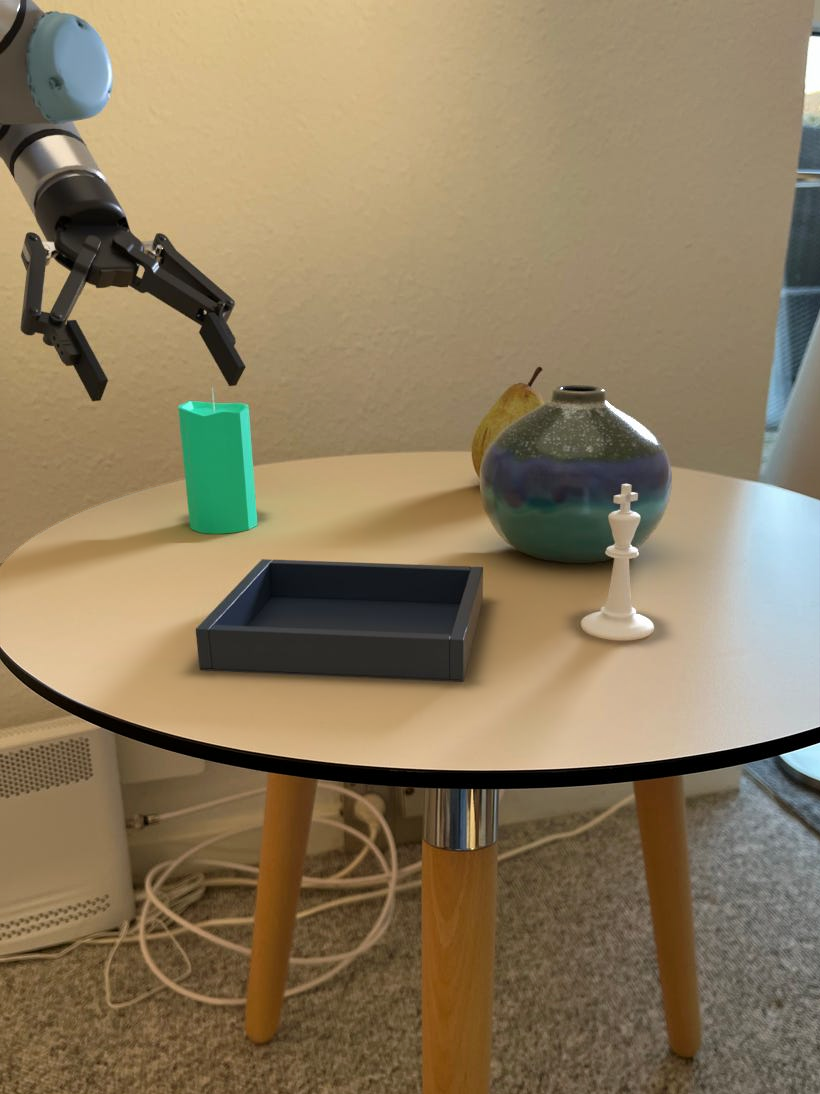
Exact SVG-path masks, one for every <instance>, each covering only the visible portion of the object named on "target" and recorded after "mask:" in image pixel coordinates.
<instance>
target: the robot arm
mask: <svg viewBox="0 0 820 1094" xmlns="http://www.w3.org/2000/svg"><path fill="white" fill-rule="evenodd" d="M113 82H114V73H113V65H112V61H111V57H110V53H109V51H108V49H107V47H106V45H105V43H104V40H103V39H102V37H101V36H100V34H99V32H98V31H97V30H96V29H95V28H94V27H93V25H92V24H90V23H89V22H88V21H86V20H85V19H83V18H81V17H79V16H78V15H75V14H73V13H67V12H59V11H57V10H54V11H52V10H51V11H46V12H44V11H43V10H42V9H41V8H40V7H39V6H38V5H37V4H36V2H35V1H34V0H0V158H1V160H3V162H4V164H5V165H6V167H7V169H8V171H9V172H10V175H11V176H12V178H13V180H14V182H15V183H16V185H17V187H18V189H19V190H20V192H21V194H22V196H23V198H24V200H25V202H26V204H27V205H28V207H29V210H30V211H31V213H32V214H33V217H34V218H35V221H36V223H37V225H38V227H39V229H40V230H41V232H42V234H43V236H44V238H45V240H42V239H41V237H40V235H38V233H36V232H32V231H31V232H30V231H29V232H27V233H26V234H25V237H24V242H23V245H22V249H21V253H20V257H21V260H22V263H23V265H24V267H25V271H26V275H25V283H24V294H23V302H22V311H21V319H20V332H21V333H23V334H24V335H25V336H34V335H35V334H39V335H40V334H41V335H43V336H42V342H43V343H44V345H46V346H49V347H54V349H55V351H56V352H57V355H58V357H59V358H60V359H59V360H60V361H61V363H63V365H65V366H66V367H72V366H73V368H74V370H75V372H76V373H77V375H78V378H79V379H80V381H81V383H82V385H83V387H84V389H85V391H86V392H87V394H88V396H89V398H90V400H91V401H92V402H100V401H102V398H103V395H104V392H105V390H106V386H107V385H108V382H109V379H108V377H107V375H106V373H105V371H104V370H103V368H102V365H101V364H100V362H99V359H98V358H97V357H96V355H95V353H94V351H93V350H92V347H91V345H90V343H89V341H88V340H87V338H86V336H85V334H84V332H83V330H82V328H81V327H80V325H79V323H78V321H77V319H69V317H70V316H71V314H72V312H73V309H74V308H75V305H76V303H77V301H78V299H79V297H80V296H81V294H82V292H83V290H84V288H85V287H86V284H89V285H92V286H95V289H106V288H109V287H115V288H129V287H131V288H132V289H134V290H135V291H137V292H138V293H141V294H145V293H148V294H149V295H151V296H153V297H154V298H156V299H157V300H159V301H160V302H163V303H164V304H166V305H167V306H169V307H170V308H172V309H174V310H175V311H177V312H178V313H180V314H182V315H183V316H185V317H186V318H188V319H190V320H191V321H193V322H194V323H196V324H198V325H199V326H201V327H200V329H199V331H198V334H199V335H200V337H201V339H202V340H203V342H204V344H205V346H206V348H207V349H208V351H209V353H210V354H211V357H212V358H213V360H214V362H215V363H216V366H217V368H218V369H219V371H220V373H221V374H222V376H223V378H224V379H225V382H226V383H227V385H228V387H234V386H237V384H238V382H239V381H240V379H241V378H242V375H243V373H244V371H245V370H246V365H245V363H244V361H243V360H242V357H241V356H240V354H239V352H238V350H237V348H236V347H235V345H236V344H237V339H236V337H235V335H234V333H233V331H232V330H231V328H230V326H229V324H228V323H227V322H228V321H229V318H230V316H231V314H232V312H233V310H234V308H235V306H236V301H235V300H234V299H233V298H232V297H231V296H229V294H227V293H226V292H225V291H224V290H223V289H222V288H220V287H219V286H218V285H217V284H216V283H215V282H214V281H213V280H211V279H210V278H209V277H208V276H207V275H205V274H204V273H203V272H202V271H201V270H200V269H198V267H196V266H195V265H194V264H193V263H192V262H191V261H189V259H187V258H185V256H184V255H182V254H181V253H180V252H179V251H178V250H177V249H176V247H175V246H174V245H173V243H172V242H171V240H170V239H169V238H168V236H167V235H166V234H164V233H162V232H158V233H155V235H154V238H153V240H145V241H141V240H140V238H138V237H137V236H136V235H135V234H134V233H133V232H132V231H131V228H130V225H129V221H128V218H127V215H126V212H125V211H124V209H123V208H122V206H121V204H120V202H119V200H118V198H117V197H116V195H115V193H114V191H113V190H112V188H111V187H110V186H109V183H108V179H107V178H106V176H105V175H104V173H103V171H102V169H101V168H100V166H99V164H98V163H97V161H96V159H95V158H94V156H93V154H92V152H91V151H90V149H89V147H88V146H87V144H86V143H85V141H84V140H83V138H82V136H81V134H80V132H79V131H78V128H77V126H76V125H75V123H74V122H76V121H82V120H87V119H91V118H93V117H96V116H97V115H99V114H100V113H102V111H103V110H104V109H105V108H106V106H107V105H108V102H109V100H110V98H111V94H112V89H113V84H114V83H113ZM51 259H54V261H55V262H57V263H58V264H59V265H60V266H62V267H63V268H64V269H66V270H68V271H69V274H68V276H67V278H66V280H65V282H64V284H63V286H62V288H61V290H60V292H59V293H58V295H57V298H56V299H55V302H54V304H53V306H52V308H51V310H50V312H47V311H42V306H43V298H44V297H43V295H44V288H45V287H44V286H45V277H46V267H47V266H49V265H50V262H51ZM140 267H142V268H143V269H144V271H143V273H142V276H141V277H139V276H138V273H139V270H140ZM205 312H206V313H205Z"/></svg>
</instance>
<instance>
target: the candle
mask: <svg viewBox="0 0 820 1094" xmlns="http://www.w3.org/2000/svg"><path fill="white" fill-rule="evenodd" d="M210 389H211V400H212V402H209V401H208V402H207V401H194V400H188V401H185V402H184V403H181V404H179V405H178V407H177V409H178V418H179V428H180V437H181V449H182V459H183V469H184V480H185V489H186V501H187V508H188V509H187V510H188V518H189V519H188V520H189V529H190V530H193V531H195V532H198V533H203V534H211V535H219V534H220V535H221V534H235V533H240V532H244V531H245V532H246V531H249V530H251V529H253V528H255V527H257V526H258V513H257V499H256V488H255V487H256V486H255V474H254V473H255V472H254V460H253V447H252V433H251V419H250V408H249V404H247V403H242V402H229V403H228V402H227V403H225V402H224V403H223V402H220V403H219V402H215V395H214V387H211V388H210Z"/></svg>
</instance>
